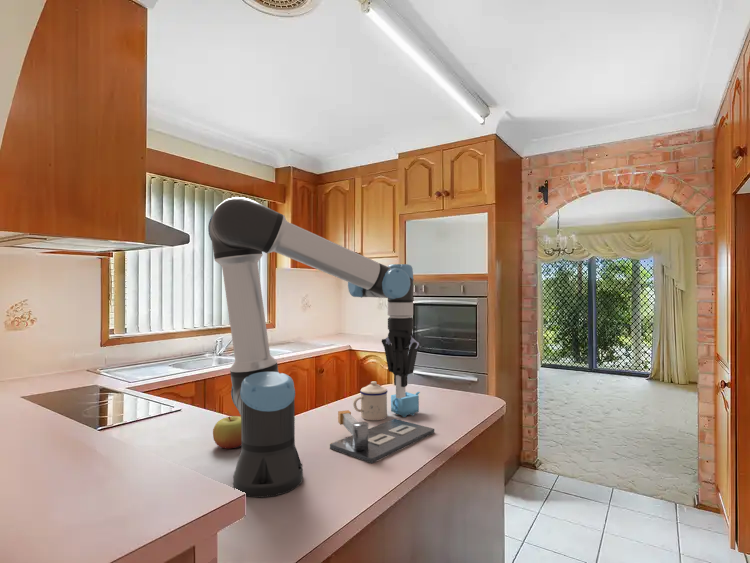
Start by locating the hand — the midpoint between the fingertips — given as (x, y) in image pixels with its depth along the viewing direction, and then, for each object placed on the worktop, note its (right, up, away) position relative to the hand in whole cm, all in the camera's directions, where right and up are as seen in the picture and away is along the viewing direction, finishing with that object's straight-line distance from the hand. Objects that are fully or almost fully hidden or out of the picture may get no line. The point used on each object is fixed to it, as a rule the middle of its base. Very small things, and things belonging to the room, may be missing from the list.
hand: (400, 397), depth 125 cm
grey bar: (-14, -9, -7) cm, 18 cm away
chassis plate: (-5, -11, -5) cm, 13 cm away
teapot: (+3, -11, +20) cm, 23 cm away
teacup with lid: (-9, -11, +16) cm, 22 cm away
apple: (-47, -12, -7) cm, 49 cm away
